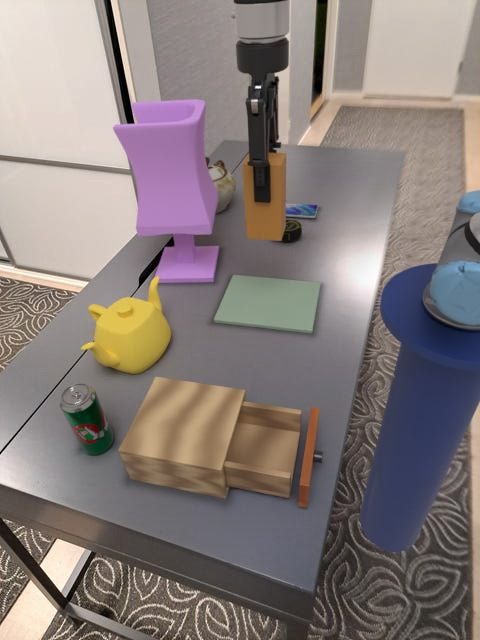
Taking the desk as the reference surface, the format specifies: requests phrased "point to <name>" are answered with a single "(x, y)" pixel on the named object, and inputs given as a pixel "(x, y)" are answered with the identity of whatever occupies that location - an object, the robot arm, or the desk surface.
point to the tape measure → (292, 231)
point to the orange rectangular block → (266, 217)
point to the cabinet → (183, 436)
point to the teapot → (130, 332)
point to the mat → (269, 303)
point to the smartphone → (301, 210)
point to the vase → (173, 184)
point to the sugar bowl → (222, 183)
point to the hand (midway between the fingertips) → (265, 193)
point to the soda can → (86, 418)
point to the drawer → (271, 451)
